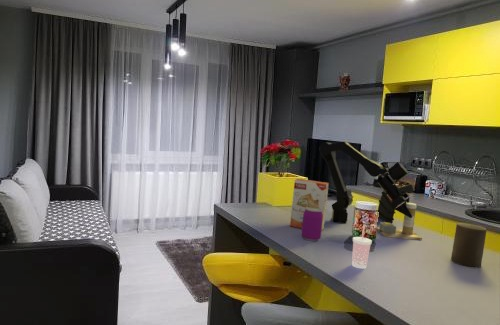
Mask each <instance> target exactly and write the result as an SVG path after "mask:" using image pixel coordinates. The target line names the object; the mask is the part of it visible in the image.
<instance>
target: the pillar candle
mask: <svg viewBox="0 0 500 325" xmlns="http://www.w3.org/2000/svg"><path fill="white" fill-rule="evenodd" d="M455 226H456V227H455V231H454V232H455V233H454V238H453V244H452V251H451V258H450V260H451V261H452V262H453V263H455V264H457V263H458V265H460V266H465V267H469V268H476V267H477V268H481V267H482V263H483V262H482V261H483V257H484V248H485V243H486V237H487V230H488V229H487V228H486V227H484V226H481V225H477V224H473V222H471V223H467V222H466V223H465V222H457V223H456V225H455Z"/></svg>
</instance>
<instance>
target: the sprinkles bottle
mask: <svg viewBox="0 0 500 325" xmlns="http://www.w3.org/2000/svg"><path fill="white" fill-rule="evenodd" d="M406 206H407V208H408V209H409V211H410V213H411V215H412V218H409V217H408V216H406V215H404V214H403V216H404V217H403V222H402V229H403V230H402V232H403V233H405V234H413V232H414V224H415V220H416V219H415V218H416V210H417V207H418V206H417V203H414V202H413V203H412V202H409V203H407V204H406Z"/></svg>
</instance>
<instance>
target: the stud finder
mask: <svg viewBox="0 0 500 325" xmlns="http://www.w3.org/2000/svg"><path fill="white" fill-rule="evenodd" d="M379 227H380V228H379V229H380V230H381V231H382V232H384V233H391V234H395V233H396V229H397V227H396V225H394V224H393V222H392V223H387V222H385V221H383V222H382V221H380V222H379Z"/></svg>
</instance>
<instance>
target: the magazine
mask: <svg viewBox="0 0 500 325" xmlns="http://www.w3.org/2000/svg"><path fill="white" fill-rule="evenodd" d="M385 193H386V192H385V191H384V190H383V191H381V196H380V199H378V207H377V211H378V212H379V218H378V220H381V221H383V222H386V223H392V224H393V222H394V221H395V218H394V214H396V210H395V208H394V209H393V208H392V207H391V206H390V205H391V202H392V201H391V199H390V197H389V196H388V195H386V194H385Z"/></svg>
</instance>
